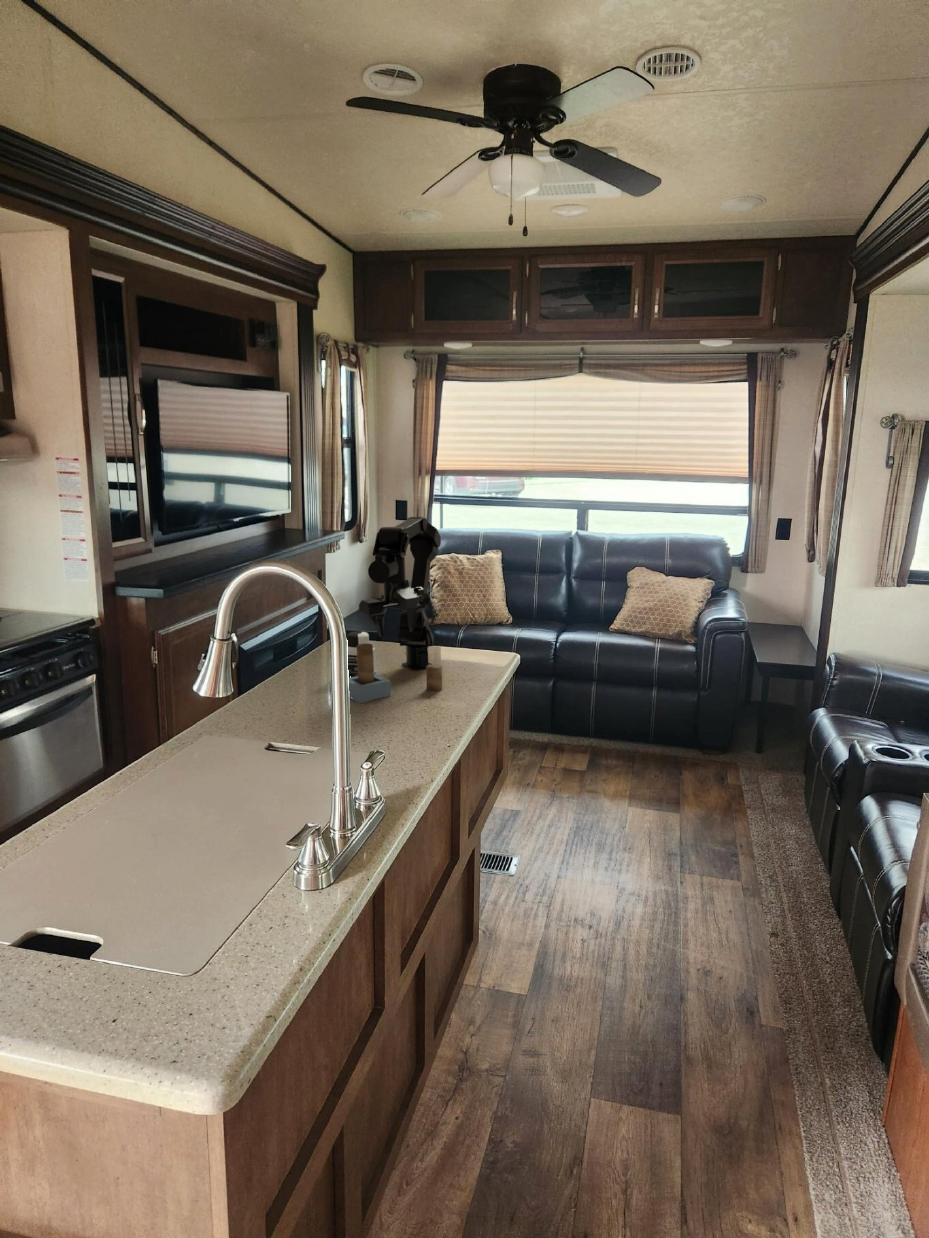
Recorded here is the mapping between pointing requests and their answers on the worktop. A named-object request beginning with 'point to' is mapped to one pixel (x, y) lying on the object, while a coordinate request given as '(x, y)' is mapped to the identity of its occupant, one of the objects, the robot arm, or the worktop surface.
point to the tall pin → (365, 663)
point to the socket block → (369, 689)
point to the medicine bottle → (353, 641)
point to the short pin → (434, 677)
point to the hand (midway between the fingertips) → (396, 634)
